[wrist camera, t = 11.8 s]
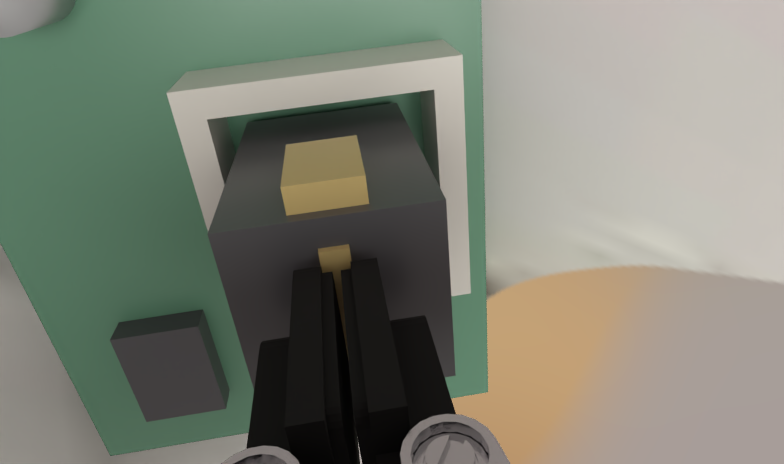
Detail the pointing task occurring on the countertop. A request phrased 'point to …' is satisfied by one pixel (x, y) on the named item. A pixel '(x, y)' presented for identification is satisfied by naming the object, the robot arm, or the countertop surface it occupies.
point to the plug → (332, 221)
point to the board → (205, 177)
